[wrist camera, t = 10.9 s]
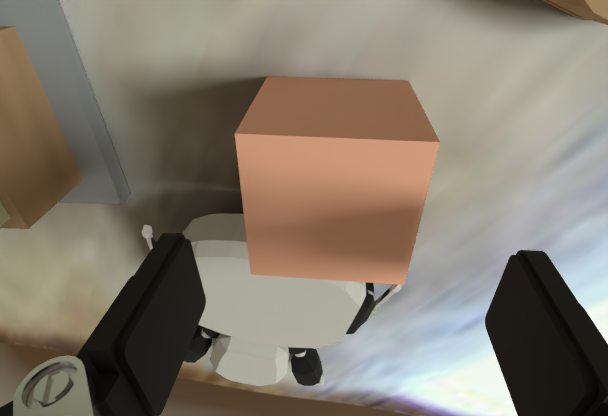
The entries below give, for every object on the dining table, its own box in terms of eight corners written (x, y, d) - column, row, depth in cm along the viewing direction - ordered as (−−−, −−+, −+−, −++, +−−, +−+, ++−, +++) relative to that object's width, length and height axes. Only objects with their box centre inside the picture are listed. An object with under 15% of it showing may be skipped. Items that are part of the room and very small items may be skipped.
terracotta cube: (273, 191, 19) (250, 274, 14) (267, 75, 16) (234, 133, 11) (387, 197, 19) (404, 285, 14) (408, 80, 15) (439, 142, 10)
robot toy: (329, 352, 29) (400, 220, 19) (326, 413, 26) (411, 289, 16) (177, 321, 28) (172, 167, 18) (153, 379, 25) (131, 228, 15)
